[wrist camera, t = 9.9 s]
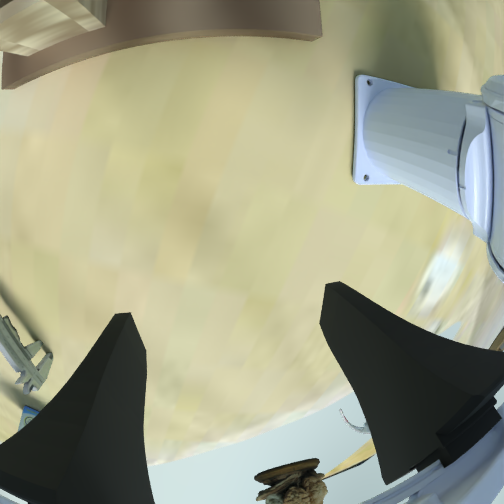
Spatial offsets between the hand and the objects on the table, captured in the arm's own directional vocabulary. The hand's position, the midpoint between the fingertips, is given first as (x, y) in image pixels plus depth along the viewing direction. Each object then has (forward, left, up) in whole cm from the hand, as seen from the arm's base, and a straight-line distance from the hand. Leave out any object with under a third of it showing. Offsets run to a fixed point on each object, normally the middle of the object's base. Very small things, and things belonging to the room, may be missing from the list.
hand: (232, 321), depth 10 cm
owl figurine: (-9, +66, -10) cm, 67 cm away
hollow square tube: (+8, -16, -8) cm, 20 cm away
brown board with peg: (+3, -18, -9) cm, 21 cm away
